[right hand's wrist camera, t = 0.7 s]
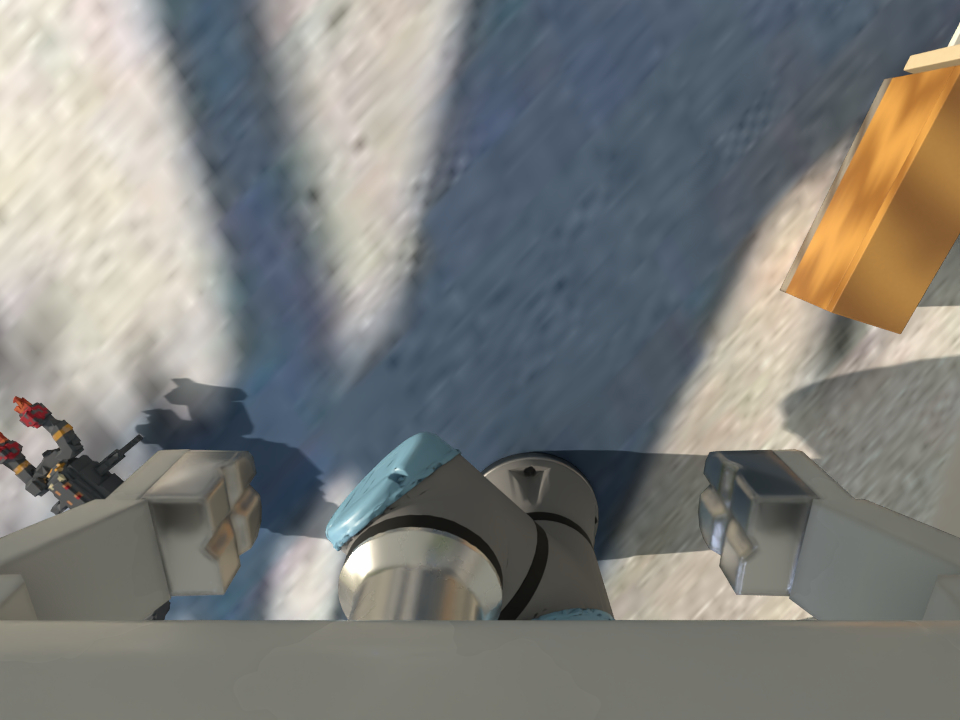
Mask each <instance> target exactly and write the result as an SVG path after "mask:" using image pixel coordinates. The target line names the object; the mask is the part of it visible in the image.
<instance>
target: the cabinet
mask: <svg viewBox="0 0 960 720" xmlns="http://www.w3.org/2000/svg"><path fill="white" fill-rule="evenodd" d="M959 234H960V65H957V66H951V67H946V68H941V69H936V70H931V71H926V72H921V73H916V74H911V75H906V76H900V77H895V78H888V79H884V81H883V83H882V85H881V87H880V89H879V91H878V93H877V95H876V97H875V99H874V101H873V103H872V105H871V107H870V109H869V111H868V113H867V115H866V117H865V119H864V121H863V124H862V126H861V128H860V130H859V132H858V134H857V136H856V138H855V140H854V142H853V144H852V146H851V148H850V150H849V152H848V154H847V156H846V158H845V160H844V162H843V164H842V166H841V168H840V170H839V172H838V174H837V176H836V178H835V180H834V182H833V184H832V186H831V188H830V190H829V192H828V194H827V196H826V198H825V200H824V202H823V204H822V206H821V208H820V210H819V212H818V214H817V216H816V218H815V220H814V222H813V224H812V226H811V228H810V230H809V232H808V234H807V236H806V238H805V240H804V242H803V244H802V246H801V248H800V250H799V252H798V254H797V256H796V258H795V260H794V263H793V265H792V267H791V269H790V271H789V273H788V275H787V277H786V279H785V281H784V283H783V285H782V287H781V289H780V290H781V291H783V292H785V293H788V294H790V295H793V296H795V297H797V298H799V299H802V300H804V301H806V302H809V303H811V304H813V305H816V306H818V307H820V308H822V309H825V310H827V311H829V312H832V313H835V314H838V315H841V316H844V317H848V318H851V319H854V320H857V321H860V322H863V323H866V324H870V325H873V326H876V327H879V328H882V329H885V330H888V331H892V332H895V333H898V334H901V333H902V331H903V329H904V328H905V326H906V324H907V323H908V321H909V319H910V318H911V316H912V314H913V312H914V311H915V309H916V307H917V306H918V304H919V302H920V301H921V299H922V297H923V295H924V294H925V292H926V290H927V289H928V287H929V285H930V284H931V282H932V280H933V278H934V277H935V275H936V273H937V272H938V270H939V268H940V266H941V265H942V263H943V261H944V260H945V258H946V256H947V255H948V253H949V251H950V249H951V248H952V246H953V244H954V243H955V241H956V239H957V238H958V236H959Z"/></svg>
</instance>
